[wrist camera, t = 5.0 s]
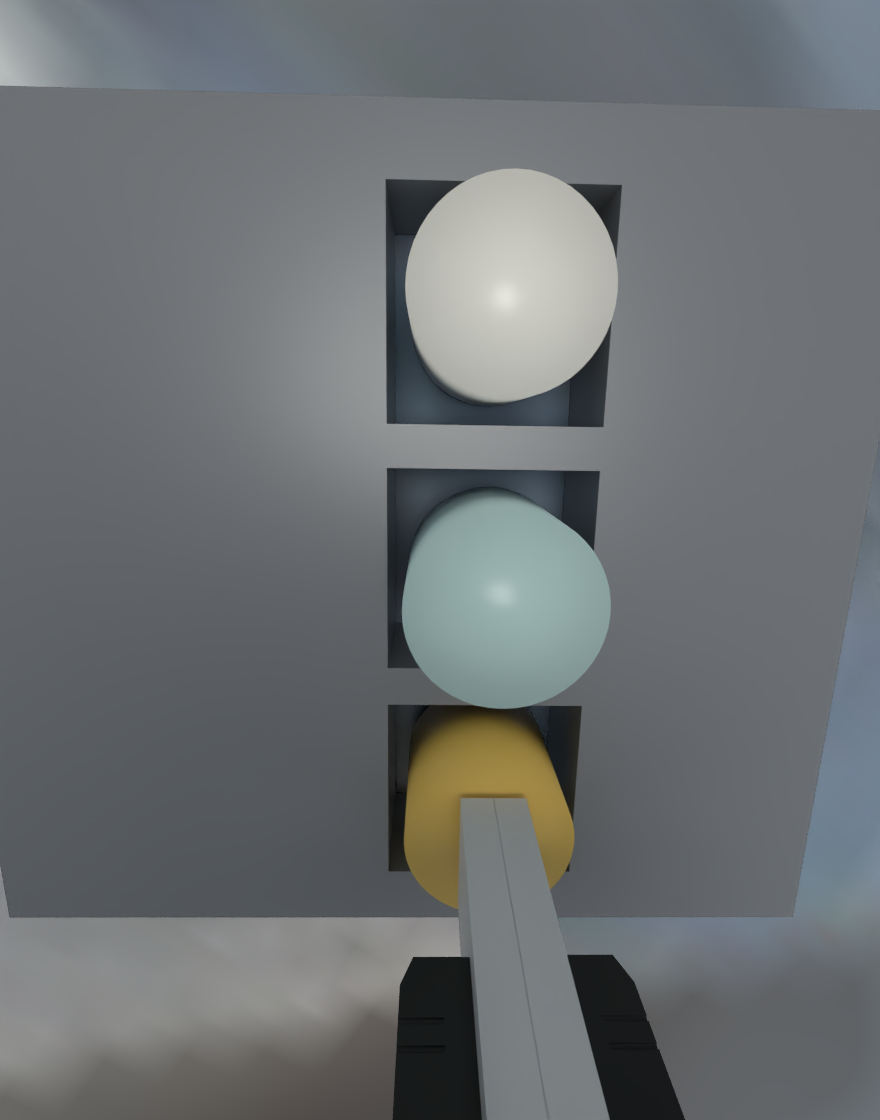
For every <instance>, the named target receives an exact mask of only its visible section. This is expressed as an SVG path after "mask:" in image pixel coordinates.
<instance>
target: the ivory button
mask: <svg viewBox="0 0 880 1120" xmlns="http://www.w3.org/2000/svg"><path fill="white" fill-rule="evenodd" d="M405 292H406V304H407V309H408V315H409V320H410V325H411V331H412V336H413V341H414V346H415V349H416V352H417V356H418V358H419V360H420V362H421V364H422V366H423V368H424V369H425V371H426V373H427V374H428V375H429V377H430V378H431V379H432V380H433V382H434V383H435V384H436V385H437V386H439V387H440V388H441V389H442V390H443V391H445V392H446V393H447V394H449V395H450V396H452V397H454V398H456V399H458V400H460V401H463V402H465V403H468V404H473V405H477V406H500V405H505V404H509V403H512V402H515V401H519V400H522V399H525V398H528V397H531V396H534V395H537V394H540V393H544V392H547V391H549V390H551V389H553V388H555V387H557V386H559V385H561V384H562V383H564V382H565V381H567V380H568V379H570V378H571V377H572V376H574V375H575V374H576V373H577V372H578V371H579V370H581V369H582V368H583V366H584V365H585V364H586V363H587V362H588V361H589V360H590V359H591V358H592V356H593V355H594V353H595V352H596V351H597V349H598V348H599V346H600V344H601V343H602V341H603V339H604V337H605V335H606V333H607V331H608V328H609V326H610V323H611V321H612V317H613V314H614V310H615V306H616V299H617V292H618V271H617V262H616V257H615V252H614V248H613V244H612V242H611V239H610V236H609V234H608V231H607V229H606V227H605V225H604V224H603V222H602V220H601V218H600V217H599V215H598V214H597V212H596V211H595V209H594V208H593V207H592V206H591V204H590V203H589V202H588V201H587V200H586V199H585V198H584V197H583V196H582V195H581V194H580V193H578V192H577V191H576V190H575V189H574V188H572V187H571V186H569V185H568V184H566V183H564V182H563V181H561V180H559V179H557V178H555V177H553V176H550V175H548V174H545V173H542V172H538V171H534V170H528V169H518V168H514V169H500V170H495V171H490V172H486V173H483V174H480V175H478V176H475V177H473V178H471V179H469V180H467V181H465V182H463V183H461V184H460V185H458V186H457V187H455V188H454V189H453V190H451V191H450V192H448V193H447V194H446V195H445V196H444V197H443V198H442V199H441V200H440V201H439V202H438V203H437V204H436V205H435V207H434V208H433V209H432V210H431V211H430V213H429V214H428V215H427V217H426V218H425V220H424V222H423V223H422V225H421V227H420V228H419V231H418V233H417V235H416V237H415V239H414V241H413V245H412V248H411V251H410V254H409V258H408V264H407V269H406V281H405Z"/></svg>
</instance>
